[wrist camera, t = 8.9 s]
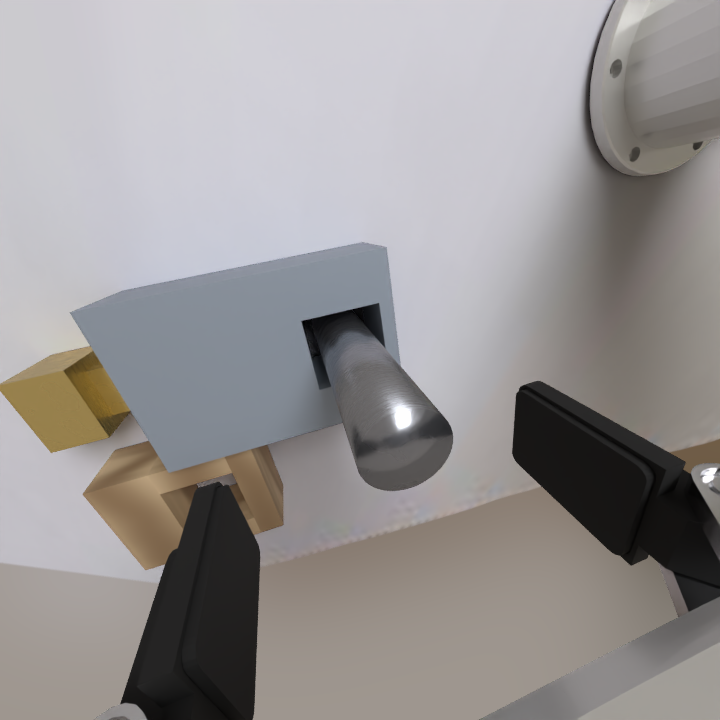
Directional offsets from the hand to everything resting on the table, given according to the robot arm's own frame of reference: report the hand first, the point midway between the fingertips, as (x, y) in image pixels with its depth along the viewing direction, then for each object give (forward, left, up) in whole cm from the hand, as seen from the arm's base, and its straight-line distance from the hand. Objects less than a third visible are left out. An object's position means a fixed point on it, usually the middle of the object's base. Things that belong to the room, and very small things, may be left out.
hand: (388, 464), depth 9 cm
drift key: (+10, 0, -14) cm, 17 cm away
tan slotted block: (+11, +9, -14) cm, 20 cm away
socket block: (+4, 0, -14) cm, 15 cm away
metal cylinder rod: (-1, 0, -14) cm, 14 cm away
